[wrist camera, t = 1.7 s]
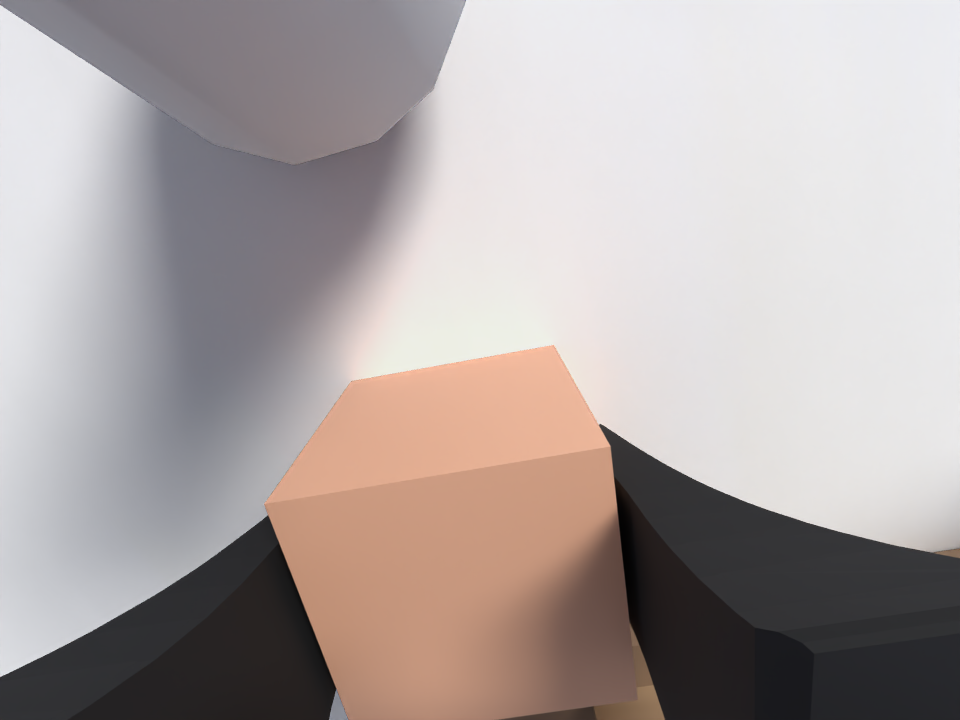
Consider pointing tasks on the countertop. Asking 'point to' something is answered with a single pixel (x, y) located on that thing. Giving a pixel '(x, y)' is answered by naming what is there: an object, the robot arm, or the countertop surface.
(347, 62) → the salt shaker
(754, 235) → the countertop surface
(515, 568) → the cube
